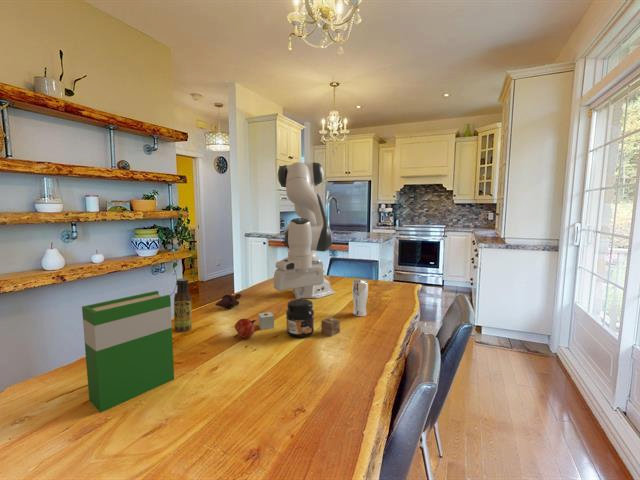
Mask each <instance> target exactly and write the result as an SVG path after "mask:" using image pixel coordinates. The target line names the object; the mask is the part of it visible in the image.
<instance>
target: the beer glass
mask: <svg viewBox="0 0 640 480" xmlns="http://www.w3.org/2000/svg"><path fill="white" fill-rule="evenodd" d="M351 291H352V292H351V293H352V300H353V311H352V315H353V316H355V317H361V318H362V317H366V316H367V315H368V314H367V302H368V297H369V296H368V295H369V282H368V281H367V280H365V279H355V280H353V281H352V289H351Z"/></svg>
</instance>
